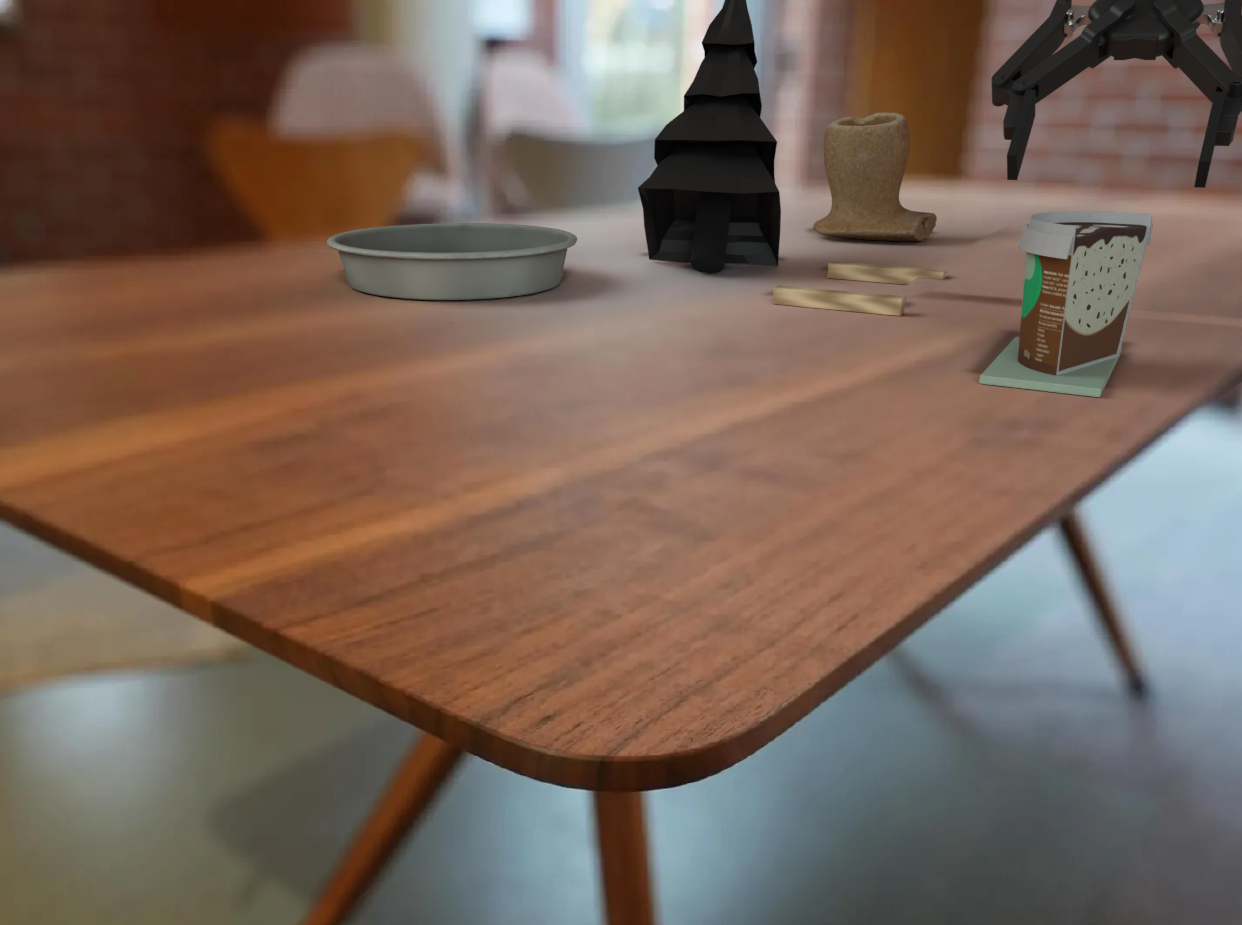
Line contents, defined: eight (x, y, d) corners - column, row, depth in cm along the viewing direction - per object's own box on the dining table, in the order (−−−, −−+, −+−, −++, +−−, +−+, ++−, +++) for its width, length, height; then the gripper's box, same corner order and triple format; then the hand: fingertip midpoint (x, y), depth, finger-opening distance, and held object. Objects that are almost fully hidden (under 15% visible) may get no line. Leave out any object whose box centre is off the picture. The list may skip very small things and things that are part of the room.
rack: (945, 285, 119) (947, 270, 118) (900, 316, 104) (902, 298, 103) (830, 276, 124) (832, 261, 123) (772, 303, 109) (773, 287, 108)
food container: (1052, 340, 92) (1076, 206, 88) (1128, 353, 88) (1156, 213, 84) (967, 363, 85) (988, 218, 80) (1045, 379, 81) (1071, 226, 76)
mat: (1120, 354, 91) (1122, 346, 90) (1099, 397, 79) (1101, 388, 78) (1014, 344, 94) (1015, 336, 94) (978, 383, 82) (979, 375, 81)
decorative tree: (776, 300, 129) (804, 16, 135) (777, 231, 115) (807, -83, 120) (645, 294, 131) (677, 15, 137) (629, 226, 117) (666, -82, 122)
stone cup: (803, 243, 147) (813, 113, 141) (819, 232, 157) (830, 110, 151) (926, 249, 143) (943, 115, 136) (935, 237, 153) (950, 112, 146)
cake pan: (548, 261, 131) (547, 218, 129) (604, 299, 110) (604, 249, 108) (325, 268, 126) (321, 223, 124) (338, 309, 104) (333, 256, 102)
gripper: (1323, -3, 93) (1278, 213, 87) (1000, 3, 103) (942, 197, 97) (1345, -89, 86) (1299, 139, 81) (999, -73, 96) (936, 130, 91)
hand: (1103, 171), depth 89 cm, fingers open, 13 cm apart
